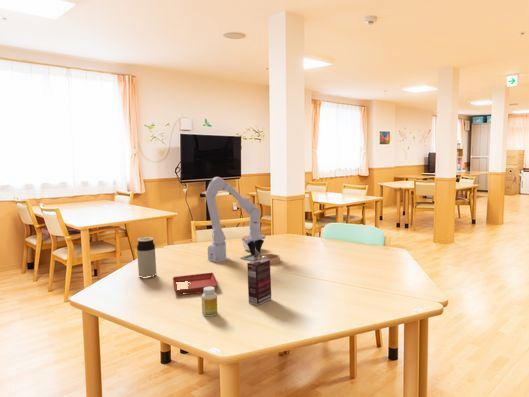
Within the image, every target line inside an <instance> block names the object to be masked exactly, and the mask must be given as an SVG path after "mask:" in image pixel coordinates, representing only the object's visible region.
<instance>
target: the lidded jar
mask: <svg viewBox="0 0 529 397" xmlns="http://www.w3.org/2000/svg"><path fill="white" fill-rule="evenodd" d="M249 237H250V234H249V235H244V236H242V238H241V241H242V242H241V244H242V247H243V249H244V250H246V251H247V252H248V251H249V252H250V249H249V247H248V245H247V243H245V239H247V238H249ZM254 243H255V242H254ZM255 250H256V247H255Z"/></svg>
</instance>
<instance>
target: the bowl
mask: <svg viewBox="0 0 529 397" xmlns="http://www.w3.org/2000/svg"><path fill="white" fill-rule="evenodd" d="M261 254H262V255H259V256H258V259H261V258H262V256H267V257H268V260H270V266H271V265H276V264H278V263H279V264H280V262H281V259H280V258H281V257H280V254H275V253H261Z"/></svg>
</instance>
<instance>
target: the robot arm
mask: <svg viewBox="0 0 529 397" xmlns="http://www.w3.org/2000/svg"><path fill="white" fill-rule="evenodd" d="M221 190H222V191H225V192H228V193H229V194H230V195H231V196H232V197H233V198H234V199H235V200H236V201H238V206H239V207H240V208H241V209H242V210H243V211H244V212H245V213H247V214H248V216H249V223H248V224H249V235H250V237H249V238H247V239H245V243H247V245H248V247H249V249H250V251H249V252H250V254H251V255H255V247H256V250H258V252H259V253H260V254H261V250H262V246H263V244H264V243H265V242H264V241H265V239H266V235H265V234H261V221H260V220H261V218H260V217H261V215H262V213H261V211H260V209H259V208H258V207H257V205H256V204H254V203H253V202H251V199H250V198H249V197H247V196H242V195H241V194H240V193H239V192H238V191H237V190H236V189H235V188H234V187H233V186H232V185H231V184H230V183H228V182H227V181H226V180H224V179H223V178H222V177H220V176H214V177H213V178H212V179H211V180H210V181H209V184H208V186H207V189H206V190H205V199H206V203H207V208H208V213H209V217H210V218H209V219H210V222H211V227H212V234H211V235H212V236H211V237H212V240H213V241H212V242H211V245H209V246H208V248H207V259H208V260H210V261H209V262H212V261H214V262H213V263H216V262H217V263H220V261H221V262H223V260H224V261H227V260H230V257H227V247H226V246H227V245H226V236H225V233H224V231H223V229H222V225H221V222H220V221H221V220H220V216H219V210H218V206H217V201H216V195H217V194H218V193H219V191H221ZM254 242H255V243H254ZM208 260H207V261H208Z"/></svg>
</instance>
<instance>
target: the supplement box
mask: <svg viewBox="0 0 529 397" xmlns="http://www.w3.org/2000/svg"><path fill="white" fill-rule="evenodd" d="M246 264H247V266H246V267H247V286H248V287H247V289H248V292H247V294H248V304H250V305H253V304H254V306H256V305H257V307H258V306H261V305H262V304H264V303H266V302H268V301H270V300H272V281H271V280H272V279H271V265H270V260H268V259H262V258H261V259H258V260H255V261H249V262H246Z"/></svg>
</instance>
